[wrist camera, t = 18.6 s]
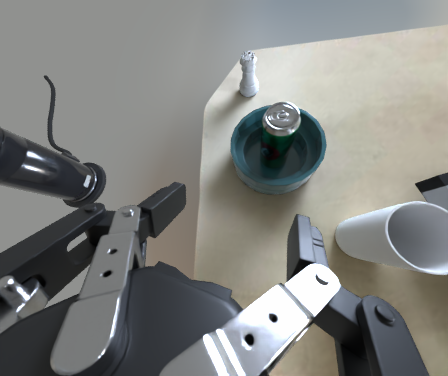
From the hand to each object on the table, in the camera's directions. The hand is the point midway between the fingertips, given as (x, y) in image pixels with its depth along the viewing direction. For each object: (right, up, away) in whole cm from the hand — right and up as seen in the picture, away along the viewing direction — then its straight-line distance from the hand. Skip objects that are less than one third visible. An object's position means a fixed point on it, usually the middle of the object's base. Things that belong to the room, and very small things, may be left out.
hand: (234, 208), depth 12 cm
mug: (+22, -7, +15) cm, 28 cm away
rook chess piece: (+5, +24, +28) cm, 37 cm away
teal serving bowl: (+9, +7, +22) cm, 25 cm away
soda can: (+9, +7, +21) cm, 24 cm away
